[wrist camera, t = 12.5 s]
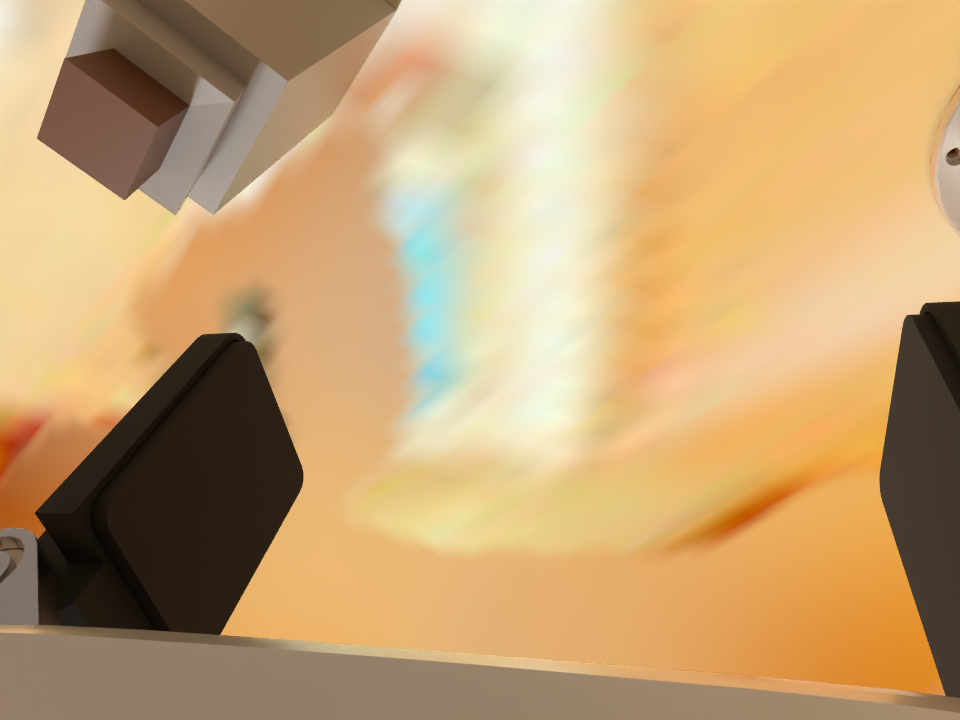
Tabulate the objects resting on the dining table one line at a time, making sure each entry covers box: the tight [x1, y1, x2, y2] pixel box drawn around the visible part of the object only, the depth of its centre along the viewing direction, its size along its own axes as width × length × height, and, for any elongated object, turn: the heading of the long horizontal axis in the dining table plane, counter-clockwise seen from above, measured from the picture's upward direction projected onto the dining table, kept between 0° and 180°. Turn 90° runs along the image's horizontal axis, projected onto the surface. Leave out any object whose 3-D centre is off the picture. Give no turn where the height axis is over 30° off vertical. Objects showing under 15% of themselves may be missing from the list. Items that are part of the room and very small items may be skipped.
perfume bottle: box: [37, 0, 397, 215], centre depth 31 cm, size 7×7×18 cm
